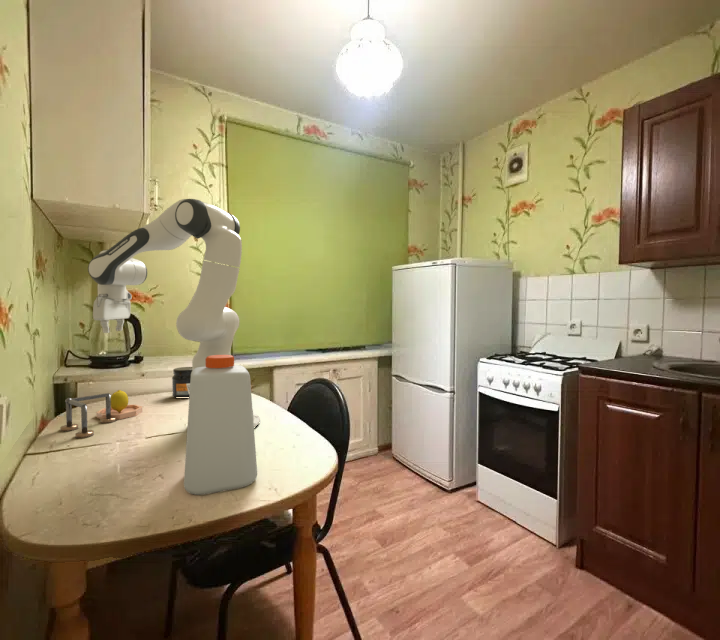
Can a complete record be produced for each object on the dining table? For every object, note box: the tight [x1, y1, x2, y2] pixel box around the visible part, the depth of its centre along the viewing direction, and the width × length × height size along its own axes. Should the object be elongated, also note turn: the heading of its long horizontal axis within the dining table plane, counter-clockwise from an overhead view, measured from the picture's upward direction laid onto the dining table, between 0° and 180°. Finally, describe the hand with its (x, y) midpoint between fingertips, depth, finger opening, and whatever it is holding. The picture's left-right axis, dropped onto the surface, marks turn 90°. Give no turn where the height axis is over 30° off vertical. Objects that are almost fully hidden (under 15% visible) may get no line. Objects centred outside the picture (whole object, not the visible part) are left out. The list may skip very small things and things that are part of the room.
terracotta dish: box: [95, 403, 143, 421], centre depth 133 cm, size 13×13×2 cm
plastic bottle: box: [183, 354, 258, 496], centre depth 85 cm, size 15×15×28 cm
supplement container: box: [171, 366, 192, 398], centre depth 160 cm, size 10×10×12 cm
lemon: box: [111, 389, 129, 412], centre depth 133 cm, size 6×6×8 cm
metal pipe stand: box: [59, 392, 117, 439], centre depth 118 cm, size 12×18×10 cm
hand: (113, 331), depth 139 cm, fingers open, 8 cm apart
